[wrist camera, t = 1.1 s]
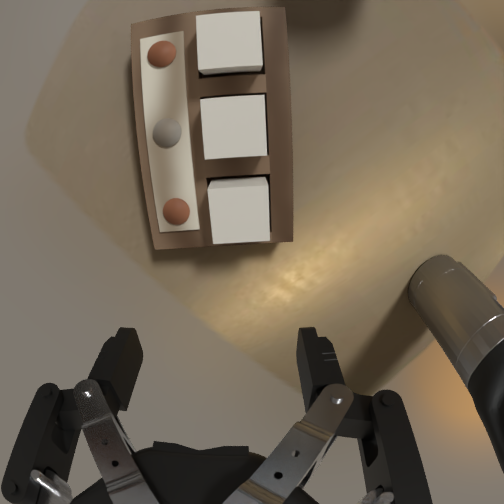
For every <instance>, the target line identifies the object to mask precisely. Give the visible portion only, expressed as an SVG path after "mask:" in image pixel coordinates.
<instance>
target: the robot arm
mask: <svg viewBox="0 0 504 504" xmlns="http://www.w3.org/2000/svg"><path fill="white" fill-rule="evenodd" d="M408 297H409V300H410V302H411V304H412V305H413V307H414V308H415V309H416V311H417V312H418V314H419V315H420V317H421V318H422V320H423V321H424V322H425V324H426V325H427V327H428V328H429V330H430V331H431V333H432V334H433V336H434V337H435V339H436V340H437V342H438V343H439V345H440V346H441V347H442V349H443V351H444V352H445V354H446V355H447V357H448V358H449V360H450V362H451V363H452V365H453V366H454V368H455V369H456V371H457V373H458V374H459V375H460V377H461V379H462V380H463V382H464V384H465V386H466V387H467V389H468V391H469V392H470V394H471V396H472V398H473V401H474V404H475V407H476V410H477V412H478V414H479V416H480V418H481V420H482V422H483V424H484V426H485V428H486V431H487V432H488V435H489V438H490V440H491V443H492V445H493V448H494V450H495V453H496V456H497V458H498V461H499V463H500V466H501V468H502V471H503V473H504V308H503V307H502V306H501V305H500V304H499V303H498V302H497V301H496V300H497V298H496V296H495V294H494V293H493V292H491V291H490V290H489V289H488V288H487V287H486V286H485V285H484V284H483V283H482V282H481V281H480V280H479V279H478V278H477V277H476V276H475V275H474V274H473V273H472V272H471V271H470V270H468V269H467V268H466V267H465V266H464V265H463V264H462V263H461V262H456V261H455V260H454V259H453V258H451V257H450V256H447V255H438V256H435V257H433V258H431V259H429V260H427V261H426V262H425V263H424V264H422V266H421V267H420V268H419V269H418V270H417V271H416V273H415V274H414V276H413V278H412V280H411V282H410V285H409V290H408ZM296 357H297V365H298V371H299V376H300V382H301V388H302V394H303V399H304V405H305V411H306V415H305V416H304V417H303V419H302V420H301V421H300V422H296V423H295V424H294V425H293V427H292V428H291V429H290V430H289V432H288V433H287V434H286V436H285V437H284V438H283V439H282V441H281V442H280V443H279V444H278V446H277V447H276V448H275V449H274V451H273V452H272V453H271V454H270V455H269V456H268V458H265V457H264V456H261V455H259V454H256V453H252V452H249V447H248V446H223V447H217V448H212V449H206V450H195V449H192V448H188V447H185V446H182V445H179V444H175V443H166V442H157V441H154V443H153V447H150V448H145V449H142V450H139V451H136V450H135V448H134V447H133V445H132V443H131V441H130V440H129V438H128V436H127V434H126V432H125V430H124V428H123V426H122V424H121V422H120V420H119V418H118V416H117V414H118V411H119V410H122V411H127V408H128V405H129V401H130V398H131V395H132V392H133V389H134V385H135V382H136V379H137V376H138V373H139V370H140V367H141V364H142V361H143V350H142V347H141V344H140V341H139V338H138V335H137V332H136V330H135V328H123V327H120V328H119V330H118V332H117V334H116V336H115V337H110V338H109V339H108V340H107V341H106V342H105V343H104V345H103V347H102V349H101V352H100V353H99V355H98V358H97V359H96V361H95V364H94V366H93V368H92V370H91V372H90V374H89V376H88V379H85V380H82V381H80V382H79V383H77V384H76V386H75V387H74V389H67V390H60V389H59V388H58V387H57V385H55V384H53V383H46V384H44V385H42V386H41V387H40V388H39V389H38V390H37V392H36V395H35V397H34V399H33V401H32V403H31V405H30V408H29V410H28V412H27V415H26V417H25V419H24V422H23V424H22V427H21V429H20V432H19V434H18V437H17V440H16V442H15V445H14V448H13V450H12V453H11V456H10V459H9V462H8V465H7V468H6V471H5V475H4V477H3V481H2V485H1V490H2V494H3V496H4V497H5V499H6V500H8V501H9V502H11V503H12V504H319V503H318V502H317V501H315V500H314V499H313V498H312V497H311V496H310V495H308V494H307V493H306V492H305V491H304V490H303V489H304V487H305V486H306V484H307V483H308V482H309V480H310V479H311V477H312V476H313V475H314V473H315V472H316V470H317V468H318V466H319V465H320V463H321V462H322V460H323V458H324V457H325V456H326V454H327V452H328V451H329V449H330V448H331V446H332V445H333V443H334V441H335V440H336V438H337V436H342V437H351V438H357V440H358V445H359V450H360V456H361V461H362V466H363V473H364V479H365V484H366V491H367V494H366V495H365V496H364V497H363V498H362V499H361V500H360V501H359V502H358V503H357V504H433V503H432V499H431V495H430V491H429V487H428V483H427V479H426V475H425V472H424V468H423V464H422V461H421V457H420V454H419V451H418V447H417V444H416V441H415V437H414V434H413V431H412V428H411V425H410V422H409V419H408V416H407V413H406V410H405V407H404V404H403V401H402V399H401V397H400V396H399V394H397V393H396V392H394V391H391V390H381V391H379V392H377V393H376V394H375V395H374V396H366V395H359V394H356V393H354V392H352V391H351V389H350V388H348V387H347V386H346V385H345V382H344V379H343V376H342V373H341V369H340V366H339V363H338V360H337V357H336V354H335V351H334V347H333V344H332V343H331V342H330V341H329V340H328V339H327V338H326V337H318V336H317V332H316V329H315V327H306V328H299V331H298V341H297V351H296ZM81 429H82V430H83V432H84V435H85V438H86V440H87V443H88V446H89V448H90V451H91V453H92V455H93V457H94V460H95V462H96V465H97V467H98V469H99V471H100V473H101V476H102V478H101V479H100V480H98V481H97V482H96V483H94V484H93V485H92V486H90V487H89V488H87V489H86V490H85V491H83V492H82V493H80V494H79V495H78V496H76V497H75V498H74V499H73V500H72V495H71V488H70V486H69V485H68V484H67V480H68V476H69V472H70V468H71V464H72V460H73V457H74V453H75V449H76V445H77V442H78V438H79V435H80V431H81Z"/></svg>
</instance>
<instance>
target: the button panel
mask: <svg viewBox="0 0 504 504" xmlns="http://www.w3.org/2000/svg"><path fill="white" fill-rule="evenodd" d="M245 11H259V12H260V27H261V43H262V60H263V66H262V68H261V71H260V72H238V73H224V74H212V75H203V74H202V73H201V72H200V71H199V70H198V54H197V31H196V16H198V15H206V14H216V13H228V12H245ZM131 58H132V80H133V96H134V109H135V120H136V130H137V139H138V148H139V156H140V164H141V171H142V179H143V185H144V192H145V198H146V204H147V210H148V216H149V222H150V227H151V233H152V238H153V243H154V248H155V250H159V249H175V248H191V247H208V246H225V245H242V244H259V243H277V242H293V151H292V116H291V91H290V71H289V53H288V38H287V24H286V11H285V7H243V8H227V9H215V10H206V11H197V12H190V13H183V14H177V15H171V16H166V17H161V18H156V19H151V20H146V21H142V22H138V23H134V24H131ZM248 95H264V98H265V119H266V141H267V156H248V157H232V158H218V159H206V160H205V157H204V145H203V133H202V119H201V105H200V99H208V98H219V97H232V96H248ZM262 176H265V177H266V180H267V183H268V194H269V225H270V241H258V242H240V243H223V244H213V237H212V228H211V219H210V210H209V200H208V190H207V189H208V187H209V185H210V182H211V180H214V179H228V178H244V177H262Z"/></svg>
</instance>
